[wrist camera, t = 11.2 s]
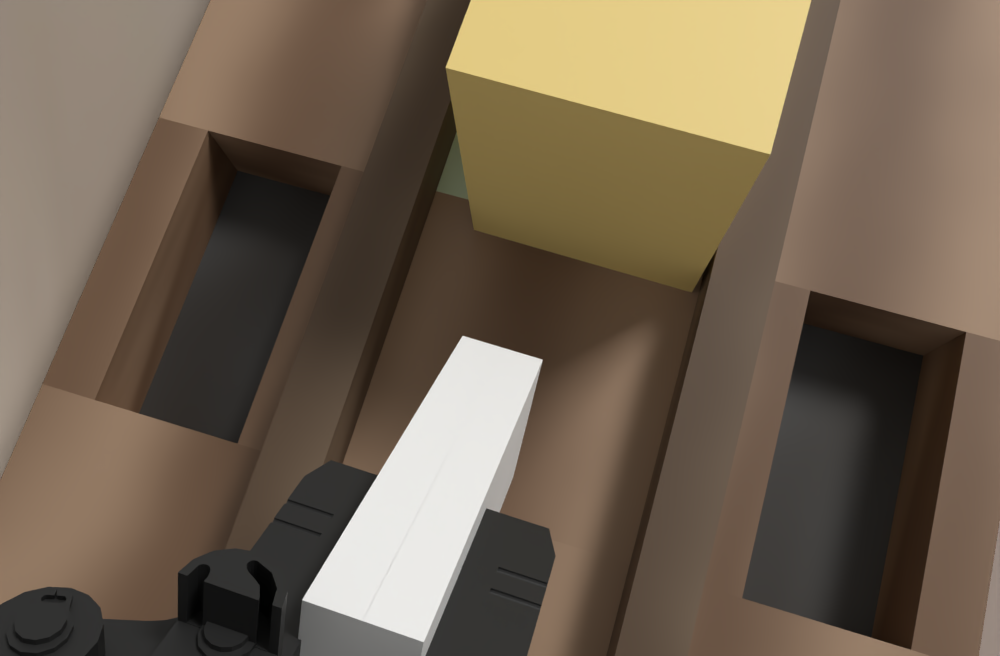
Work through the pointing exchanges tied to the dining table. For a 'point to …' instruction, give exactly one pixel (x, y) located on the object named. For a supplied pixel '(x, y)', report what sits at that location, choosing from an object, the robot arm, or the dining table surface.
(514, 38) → the ochre block
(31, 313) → the dining table surface
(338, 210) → the trap board
